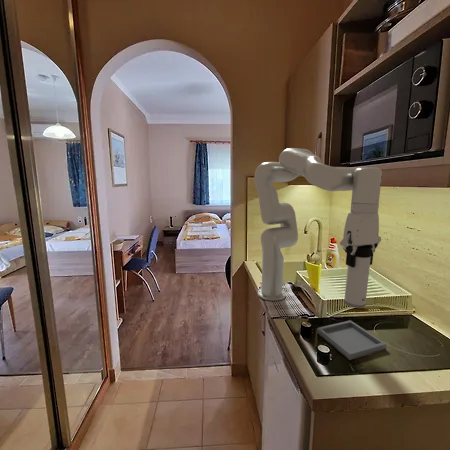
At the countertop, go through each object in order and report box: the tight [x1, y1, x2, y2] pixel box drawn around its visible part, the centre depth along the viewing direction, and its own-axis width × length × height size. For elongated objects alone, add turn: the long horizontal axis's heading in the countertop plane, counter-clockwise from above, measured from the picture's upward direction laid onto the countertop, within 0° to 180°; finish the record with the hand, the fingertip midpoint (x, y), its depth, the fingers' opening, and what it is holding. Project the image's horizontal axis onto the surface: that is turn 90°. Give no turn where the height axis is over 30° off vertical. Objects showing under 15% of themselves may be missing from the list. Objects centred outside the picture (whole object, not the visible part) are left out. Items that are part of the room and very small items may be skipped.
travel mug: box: [343, 245, 373, 309], centre depth 87 cm, size 6×7×20 cm
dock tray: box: [316, 319, 387, 361], centre depth 92 cm, size 15×15×2 cm
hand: (358, 264), depth 87 cm, fingers closed on travel mug, 6 cm apart
